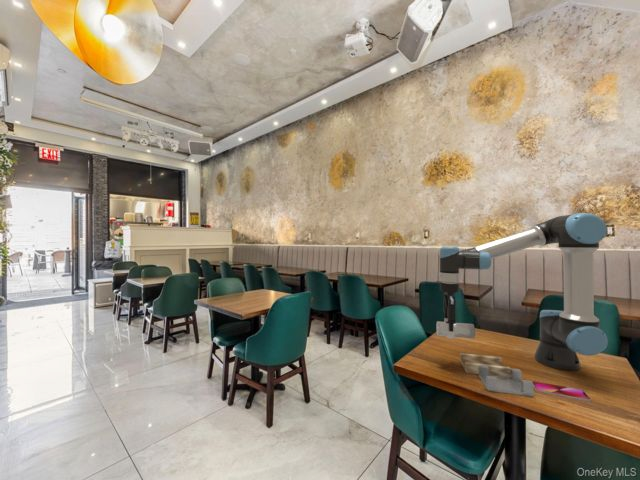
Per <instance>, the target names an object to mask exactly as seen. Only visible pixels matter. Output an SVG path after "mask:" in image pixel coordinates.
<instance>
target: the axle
mask: <svg viewBox="0 0 640 480" xmlns="http://www.w3.org/2000/svg"><path fill="white" fill-rule="evenodd" d="M435 325H436V334H437V335H436V336H438V337H447V323H446V322H444V321H438V320H437V321H436V324H435ZM454 338H458V339H459V338H462V339H471V340H472V339H473V340H474V339H475V338H476V329H475V325H474V323H467V322H466V323H464V322H456V323H454Z"/></svg>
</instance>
